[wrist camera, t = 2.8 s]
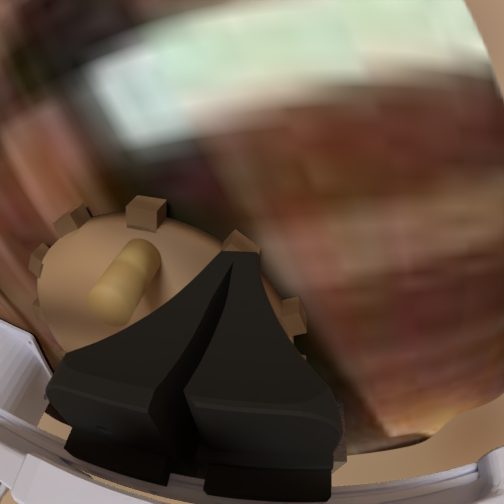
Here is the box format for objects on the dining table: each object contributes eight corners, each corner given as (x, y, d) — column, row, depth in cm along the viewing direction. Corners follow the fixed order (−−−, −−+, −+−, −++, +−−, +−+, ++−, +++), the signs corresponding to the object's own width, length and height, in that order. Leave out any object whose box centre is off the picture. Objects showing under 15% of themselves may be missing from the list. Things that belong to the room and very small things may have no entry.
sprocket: (273, 424, 22) (268, 476, 18) (73, 373, 23) (51, 415, 19) (353, 234, 13) (377, 308, 9) (15, 179, 13) (-44, 219, 9)
